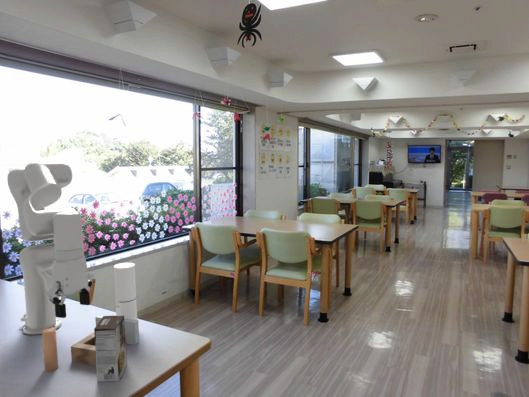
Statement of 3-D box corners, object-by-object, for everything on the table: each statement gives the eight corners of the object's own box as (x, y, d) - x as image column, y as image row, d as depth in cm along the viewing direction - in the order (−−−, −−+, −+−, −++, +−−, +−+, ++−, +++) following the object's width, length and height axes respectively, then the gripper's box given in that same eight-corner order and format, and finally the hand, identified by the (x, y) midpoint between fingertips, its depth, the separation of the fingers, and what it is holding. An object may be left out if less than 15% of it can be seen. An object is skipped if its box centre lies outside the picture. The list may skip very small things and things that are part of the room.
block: (71, 361, 125) (70, 346, 124) (93, 346, 134) (93, 332, 134) (98, 366, 122) (97, 350, 121) (119, 350, 132) (118, 336, 131)
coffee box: (106, 365, 122) (103, 315, 121) (127, 364, 123) (125, 314, 121) (96, 382, 113) (93, 328, 112) (119, 381, 114) (116, 327, 112)
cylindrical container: (131, 336, 141) (128, 268, 138) (113, 335, 143) (109, 267, 140) (141, 328, 148) (138, 263, 145) (124, 326, 150) (120, 262, 147)
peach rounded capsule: (41, 370, 120) (39, 332, 118) (51, 364, 123) (48, 327, 122) (51, 372, 119) (48, 334, 117) (60, 366, 122) (58, 329, 121)
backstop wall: (96, 338, 140) (95, 317, 139) (100, 336, 142) (99, 314, 141) (135, 344, 135) (134, 322, 134) (139, 342, 137) (138, 320, 136)
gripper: (80, 246, 125) (83, 299, 126) (34, 261, 108) (39, 321, 110) (100, 247, 123) (103, 301, 124) (57, 262, 106) (61, 324, 108)
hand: (73, 310), depth 117 cm, fingers open, 9 cm apart
